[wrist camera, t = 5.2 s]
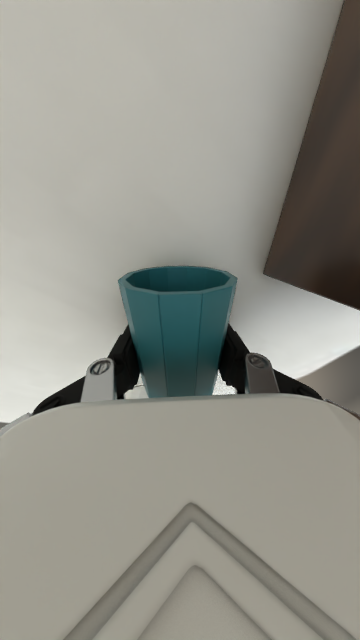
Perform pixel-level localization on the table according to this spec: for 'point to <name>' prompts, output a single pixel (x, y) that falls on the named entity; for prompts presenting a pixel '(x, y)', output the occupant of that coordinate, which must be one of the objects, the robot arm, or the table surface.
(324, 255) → the stand
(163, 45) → the table surface
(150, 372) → the drinking cup
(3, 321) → the table surface
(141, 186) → the table surface
